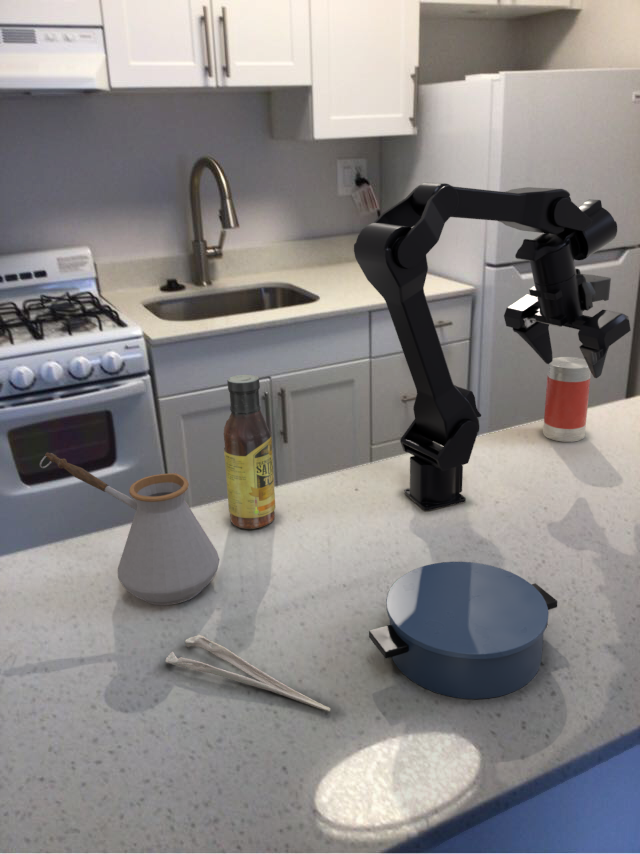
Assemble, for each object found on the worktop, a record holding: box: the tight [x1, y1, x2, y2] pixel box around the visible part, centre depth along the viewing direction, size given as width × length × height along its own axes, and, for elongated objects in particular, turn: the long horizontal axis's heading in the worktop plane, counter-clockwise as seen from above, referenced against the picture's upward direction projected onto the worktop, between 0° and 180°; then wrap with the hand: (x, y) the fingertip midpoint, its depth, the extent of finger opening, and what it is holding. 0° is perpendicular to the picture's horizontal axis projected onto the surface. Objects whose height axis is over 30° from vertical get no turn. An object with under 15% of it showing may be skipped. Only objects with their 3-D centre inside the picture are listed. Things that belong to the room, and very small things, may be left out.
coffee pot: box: [39, 452, 220, 606], centre depth 86 cm, size 21×12×15 cm, turn 68°
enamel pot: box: [368, 561, 558, 700], centre depth 74 cm, size 19×15×5 cm
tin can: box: [542, 356, 592, 443], centre depth 124 cm, size 7×7×12 cm
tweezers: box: [165, 634, 331, 712], centre depth 71 cm, size 17×5×2 cm, turn 60°
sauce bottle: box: [223, 373, 276, 530], centre depth 98 cm, size 6×6×20 cm
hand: (572, 369), depth 113 cm, fingers open, 9 cm apart
